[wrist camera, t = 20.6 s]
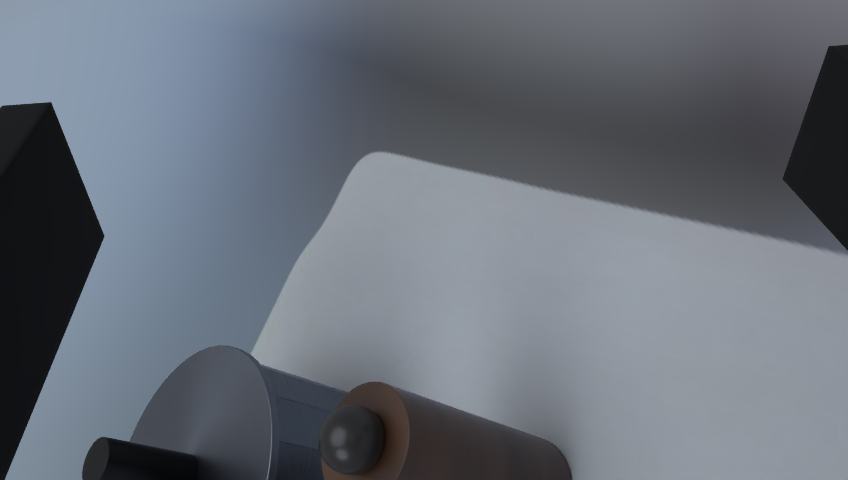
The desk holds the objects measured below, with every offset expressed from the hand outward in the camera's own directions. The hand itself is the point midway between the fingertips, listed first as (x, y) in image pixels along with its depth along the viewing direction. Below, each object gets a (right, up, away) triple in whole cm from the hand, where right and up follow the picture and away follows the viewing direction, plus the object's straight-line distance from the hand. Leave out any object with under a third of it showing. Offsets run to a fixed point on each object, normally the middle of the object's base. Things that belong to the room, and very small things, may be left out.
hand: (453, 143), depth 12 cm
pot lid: (-13, -15, +26) cm, 32 cm away
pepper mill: (+5, -14, +23) cm, 27 cm away
